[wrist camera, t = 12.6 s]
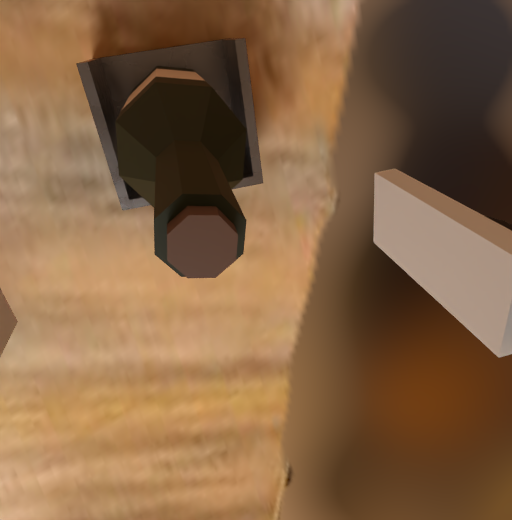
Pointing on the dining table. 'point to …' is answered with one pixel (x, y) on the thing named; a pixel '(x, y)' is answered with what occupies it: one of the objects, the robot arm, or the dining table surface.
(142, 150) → the wine bottle
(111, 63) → the bottle rest
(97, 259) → the dining table surface
